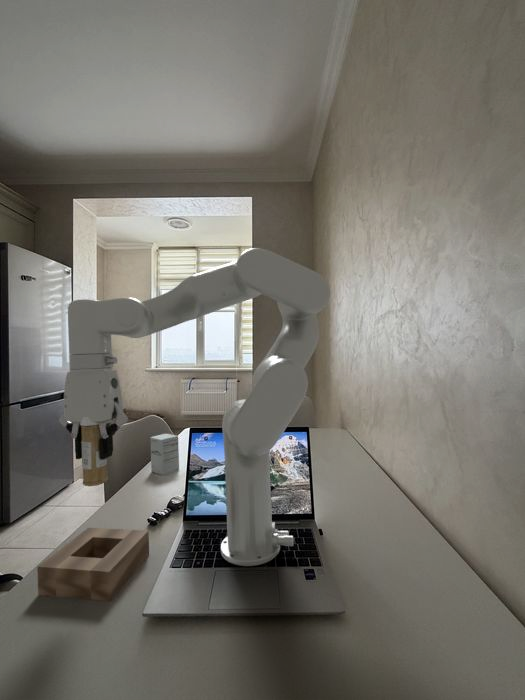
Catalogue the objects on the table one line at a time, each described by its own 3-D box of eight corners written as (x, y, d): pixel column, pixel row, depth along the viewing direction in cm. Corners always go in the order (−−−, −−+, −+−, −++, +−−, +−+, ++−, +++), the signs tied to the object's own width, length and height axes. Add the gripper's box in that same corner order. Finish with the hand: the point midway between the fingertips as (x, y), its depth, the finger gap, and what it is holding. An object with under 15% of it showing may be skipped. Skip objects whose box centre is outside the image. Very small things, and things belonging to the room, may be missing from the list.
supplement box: (150, 471, 128) (149, 436, 128) (168, 466, 133) (166, 432, 133) (162, 475, 123) (161, 439, 123) (180, 470, 128) (178, 435, 128)
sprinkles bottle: (109, 483, 68) (107, 413, 68) (83, 489, 66) (81, 416, 66) (105, 476, 72) (103, 410, 72) (80, 482, 69) (78, 413, 70)
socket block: (149, 554, 74) (148, 530, 74) (110, 601, 61) (109, 571, 61) (89, 550, 77) (88, 527, 77) (38, 594, 63) (37, 566, 63)
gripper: (141, 361, 71) (144, 452, 71) (66, 364, 74) (69, 451, 74) (120, 363, 64) (123, 464, 64) (38, 365, 67) (41, 462, 66)
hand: (94, 456), depth 69 cm, fingers closed on sprinkles bottle, 4 cm apart
